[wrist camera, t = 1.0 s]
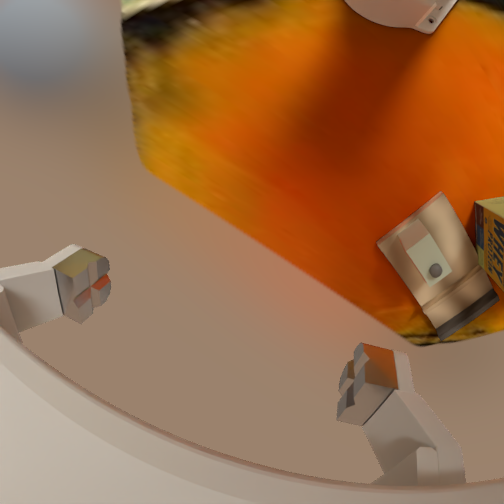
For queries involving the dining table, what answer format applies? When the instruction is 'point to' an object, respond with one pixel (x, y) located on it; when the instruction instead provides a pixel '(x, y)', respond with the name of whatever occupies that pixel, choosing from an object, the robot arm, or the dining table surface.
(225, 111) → the dining table surface
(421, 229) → the cream knobbed block
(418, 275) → the tan knob panel
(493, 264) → the protein box
